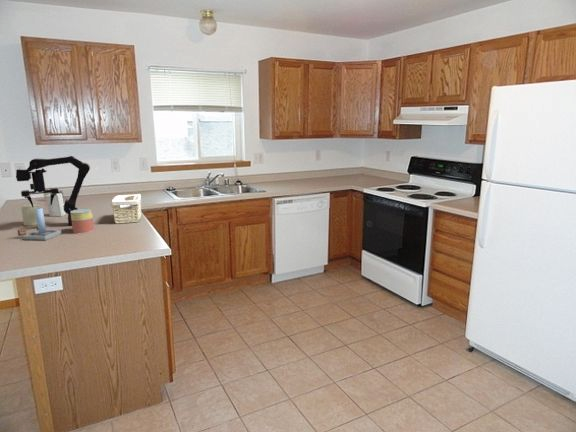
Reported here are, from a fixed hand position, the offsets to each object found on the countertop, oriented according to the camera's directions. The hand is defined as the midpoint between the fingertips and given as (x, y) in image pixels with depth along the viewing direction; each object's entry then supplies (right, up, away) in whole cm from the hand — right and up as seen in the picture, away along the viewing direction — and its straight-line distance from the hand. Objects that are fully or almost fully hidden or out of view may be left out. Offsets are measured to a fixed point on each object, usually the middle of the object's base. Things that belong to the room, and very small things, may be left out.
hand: (42, 206), depth 237 cm
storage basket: (+43, -8, +22) cm, 49 cm away
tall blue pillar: (+11, -17, -17) cm, 26 cm away
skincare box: (-10, -6, +34) cm, 36 cm away
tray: (+11, -17, -17) cm, 26 cm away
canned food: (+27, -15, -5) cm, 31 cm away
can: (-14, -11, +13) cm, 22 cm away
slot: (-3, -15, -5) cm, 16 cm away
